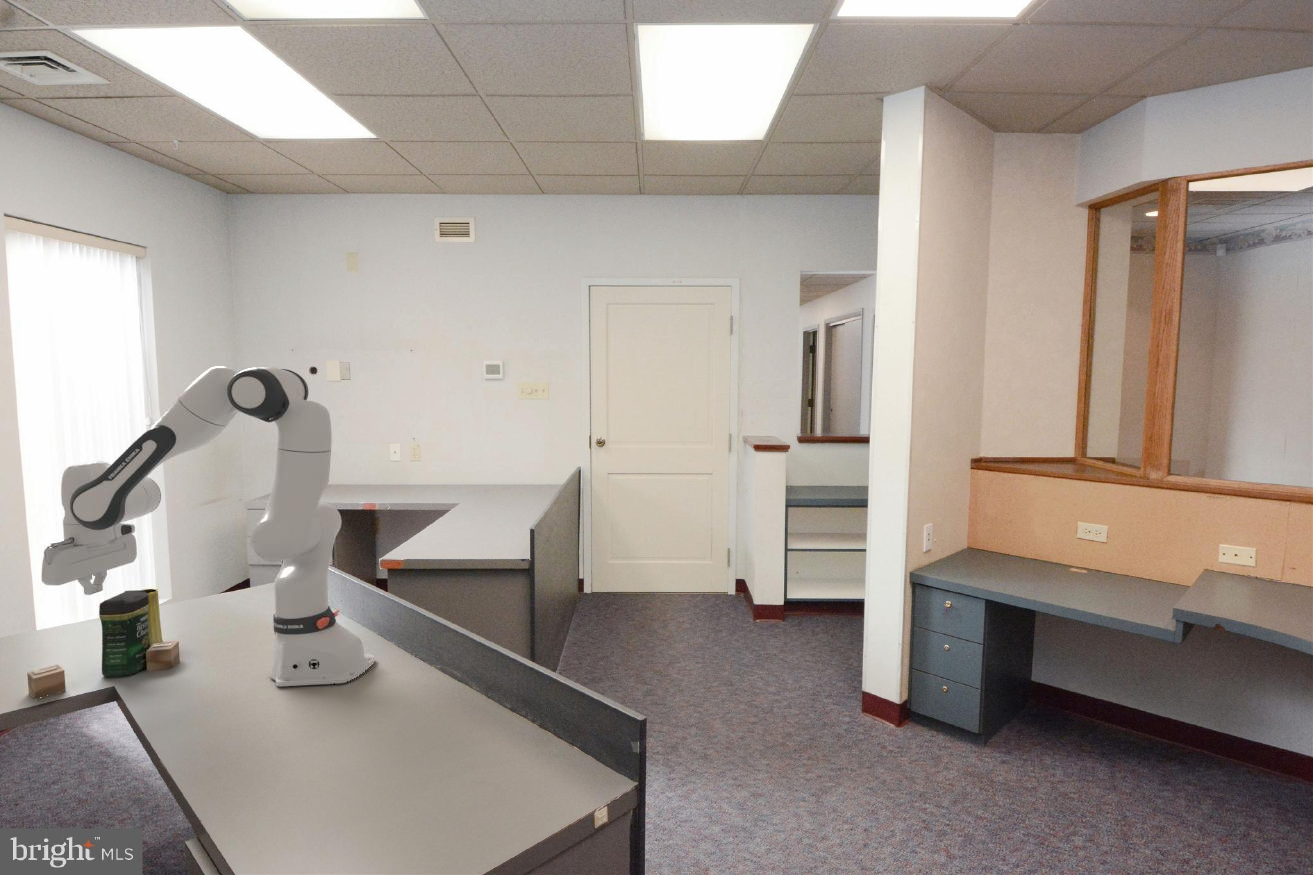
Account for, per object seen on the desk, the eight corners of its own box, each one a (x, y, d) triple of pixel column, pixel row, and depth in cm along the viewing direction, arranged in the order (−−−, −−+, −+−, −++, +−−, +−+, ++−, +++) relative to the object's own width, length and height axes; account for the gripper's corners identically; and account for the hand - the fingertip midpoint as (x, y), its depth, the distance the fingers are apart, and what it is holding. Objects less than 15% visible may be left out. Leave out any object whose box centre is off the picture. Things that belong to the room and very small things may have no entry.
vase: (169, 641, 173) (166, 588, 171) (148, 650, 166) (145, 595, 165) (147, 640, 173) (144, 587, 172) (127, 649, 167) (123, 594, 166)
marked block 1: (65, 691, 144) (64, 669, 144) (35, 700, 140) (33, 677, 140) (59, 685, 147) (57, 663, 147) (28, 694, 143) (27, 671, 143)
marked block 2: (179, 660, 161) (178, 639, 160) (172, 668, 156) (171, 647, 156) (155, 663, 159) (154, 642, 159) (147, 671, 155) (145, 650, 154)
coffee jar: (133, 678, 151) (128, 599, 149) (95, 680, 150) (90, 601, 148) (159, 660, 161) (154, 586, 159) (123, 662, 159) (118, 587, 158)
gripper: (58, 544, 137) (62, 608, 138) (141, 524, 158) (143, 580, 159) (30, 543, 138) (34, 607, 139) (116, 523, 158) (119, 579, 159)
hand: (93, 592), depth 149 cm, fingers closed
